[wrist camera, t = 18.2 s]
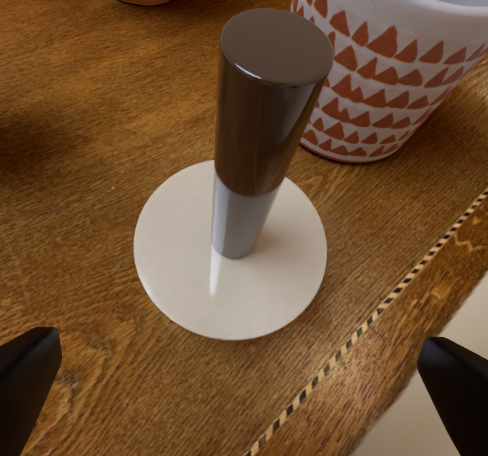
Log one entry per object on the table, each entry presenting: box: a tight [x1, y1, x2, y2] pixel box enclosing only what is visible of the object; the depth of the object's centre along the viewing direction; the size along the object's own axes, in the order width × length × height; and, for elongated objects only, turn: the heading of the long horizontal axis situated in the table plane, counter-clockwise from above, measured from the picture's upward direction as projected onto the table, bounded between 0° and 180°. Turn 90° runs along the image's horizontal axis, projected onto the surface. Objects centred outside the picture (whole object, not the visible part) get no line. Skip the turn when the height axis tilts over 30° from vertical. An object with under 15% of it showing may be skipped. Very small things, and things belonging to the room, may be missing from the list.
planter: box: [290, 0, 488, 163], centre depth 23 cm, size 14×14×13 cm
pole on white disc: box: [134, 8, 334, 341], centre depth 11 cm, size 10×10×11 cm
